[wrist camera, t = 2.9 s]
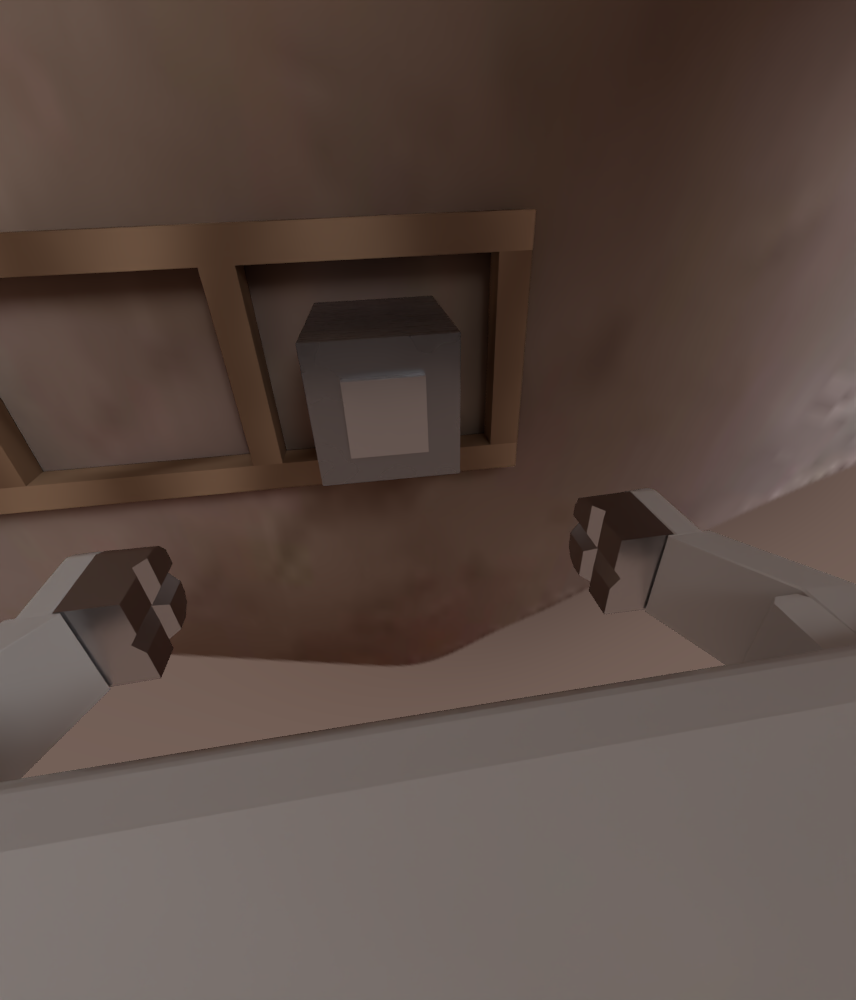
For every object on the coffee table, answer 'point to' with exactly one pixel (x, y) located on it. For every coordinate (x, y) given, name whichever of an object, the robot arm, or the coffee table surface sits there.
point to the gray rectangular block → (382, 388)
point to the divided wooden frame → (220, 258)
